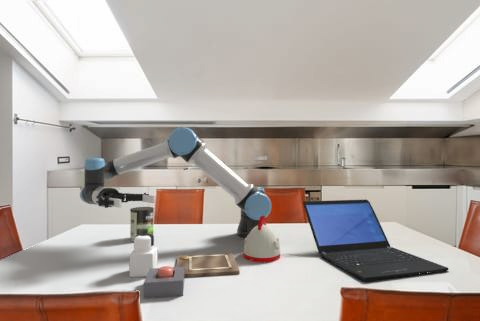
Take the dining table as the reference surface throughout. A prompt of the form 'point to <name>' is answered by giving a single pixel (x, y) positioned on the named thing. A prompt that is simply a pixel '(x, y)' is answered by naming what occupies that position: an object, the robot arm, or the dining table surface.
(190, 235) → the dining table surface
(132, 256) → the medicine bottle
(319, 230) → the laptop
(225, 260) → the picture board
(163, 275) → the button
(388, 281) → the dining table surface
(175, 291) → the block
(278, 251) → the kitchen timer
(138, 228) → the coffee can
